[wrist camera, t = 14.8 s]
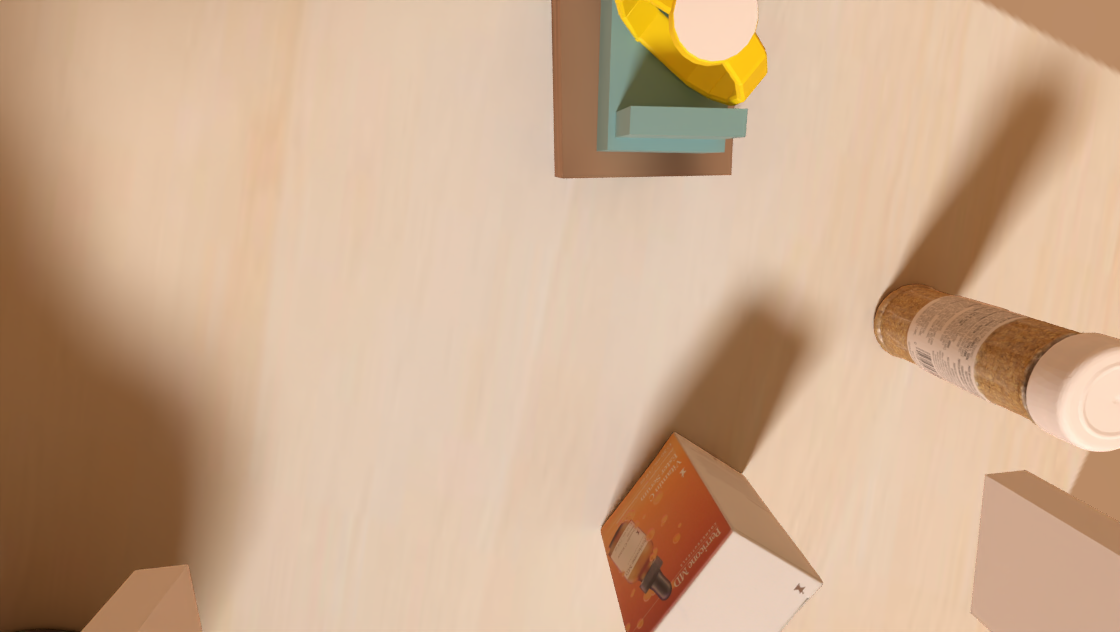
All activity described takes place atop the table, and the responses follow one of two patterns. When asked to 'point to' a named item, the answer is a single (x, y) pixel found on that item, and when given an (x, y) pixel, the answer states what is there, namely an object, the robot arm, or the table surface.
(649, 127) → the top block
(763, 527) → the small box
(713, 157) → the bottom block
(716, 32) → the watch
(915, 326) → the sprinkles bottle
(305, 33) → the table surface
